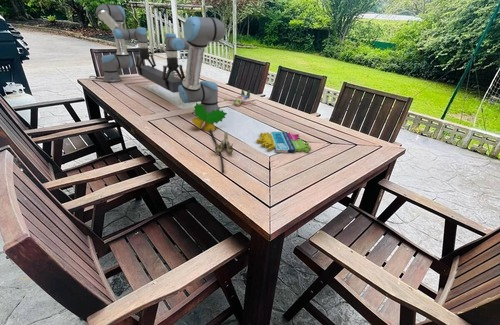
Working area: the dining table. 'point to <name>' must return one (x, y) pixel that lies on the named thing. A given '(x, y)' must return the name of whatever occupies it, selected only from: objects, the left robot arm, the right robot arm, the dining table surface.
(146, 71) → the wide beam
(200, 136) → the dining table surface
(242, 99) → the toy
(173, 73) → the airplane
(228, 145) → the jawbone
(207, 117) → the ornament
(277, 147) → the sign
